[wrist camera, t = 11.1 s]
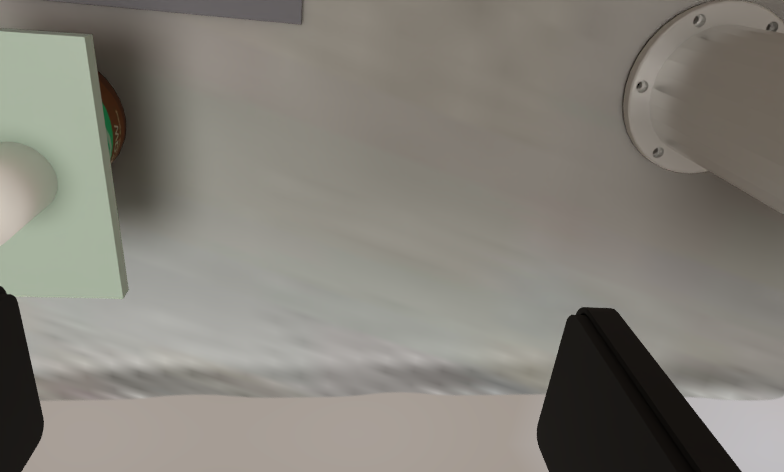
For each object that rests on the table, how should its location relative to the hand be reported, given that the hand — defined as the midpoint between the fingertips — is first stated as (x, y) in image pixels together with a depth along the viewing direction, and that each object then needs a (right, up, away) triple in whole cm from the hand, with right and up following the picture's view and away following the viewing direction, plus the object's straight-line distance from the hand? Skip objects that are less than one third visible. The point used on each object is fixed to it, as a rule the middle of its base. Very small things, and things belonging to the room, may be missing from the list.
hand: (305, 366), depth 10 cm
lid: (-19, +6, +21) cm, 29 cm away
